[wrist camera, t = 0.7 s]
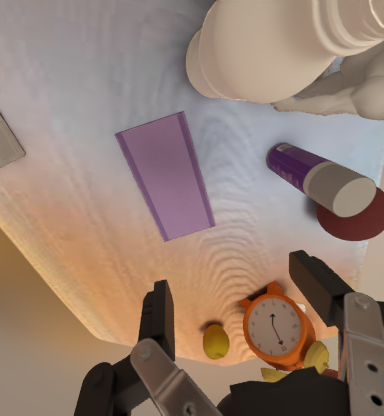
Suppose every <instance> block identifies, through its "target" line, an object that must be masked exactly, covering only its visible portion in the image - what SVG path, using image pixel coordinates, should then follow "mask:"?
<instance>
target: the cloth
mask: <svg viewBox="0 0 384 416" xmlns="http://www.w3.org/2000/svg"><path fill="white" fill-rule="evenodd" d="M115 137H116V139H117V141H118V143H119V145H120V147H121V150H122V152H123V154H124V156H125V158H126V160H127V163H128V165H129V167H130V169H131V171H132V173H133V175H134V178H135V180H136V182H137V184H138V186H139V188H140V190H141V193H142V195H143V197H144V199H145V201H146V203H147V206H148V208H149V210H150V212H151V214H152V216H153V218H154V221H155V223H156V225H157V227H158V229H159V231H160V233H161V236H162V238H163V240H164V242H166V241H169V240H172V239H175V238H178V237H181V236H184V235H188V234H191V233H194V232H197V231H200V230H203V229H207V228H210V227H213V226H216V225H215V221H214V217H213V214H212V210H211V207H210V203H209V200H208V196H207V193H206V189H205V185H204V182H203V178H202V175H201V171H200V168H199V164H198V161H197V157H196V154H195V150H194V146H193V143H192V139H191V136H190V132H189V129H188V125H187V122H186V118H185V114H184V111H183V112H180V113H177V114H174V115H171V116H168V117H165V118H162V119H159V120H156V121H153V122H150V123H147V124H144V125H141V126H138V127H135V128H132V129H129V130H126V131H123V132H120V133H117V134H115Z"/></svg>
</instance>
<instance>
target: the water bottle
mask: <svg viewBox="0 0 384 416" xmlns="http://www.w3.org/2000/svg"><path fill="white" fill-rule="evenodd" d="M382 41H384V0H217V1H216V2H215V3H214V4H213V5H212V7H211V8H210V10H209V11H208V13H207V15H206V17H205V20H204V23H203V26H202V28H200V29H199V30H198V31H197V32H196V34H195V35H194V36H193V38H192V40H191V42H190V44H189V46H188V50H187V54H186V71H187V75H188V78H189V80H190V82H191V84H192V85H193V87H194V88H195V89H196V90H197V91H198V92H199V93H200V94H202V95H204V96H206V97H209V98H224V99H227V100H233V101H242V100H246V101H249V102H253V103H273V102H277V101H281V100H284V99H286V98H289V97H291V96H293V95H295V94H297V93H298V92H300V91H301V90H303V89H304V88H305V87H307V86H308V85H310V84H311V83H312V82H313V81H314V80H315V79H316V78H317V77H318V76H319V75H320V74H321V73H322V72H323V71H324V70H325V69H326V68H327V67H328V66H329V65H330V64H331V63H332V62H333V60H334V59H335V58H336V57H337V56H342V57H346V56H351V55H356V54H359V53H361V52H364V51H366V50H368V49H369V48H371V47H373V46H375V45H377V44H379V43H381V42H382Z"/></svg>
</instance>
